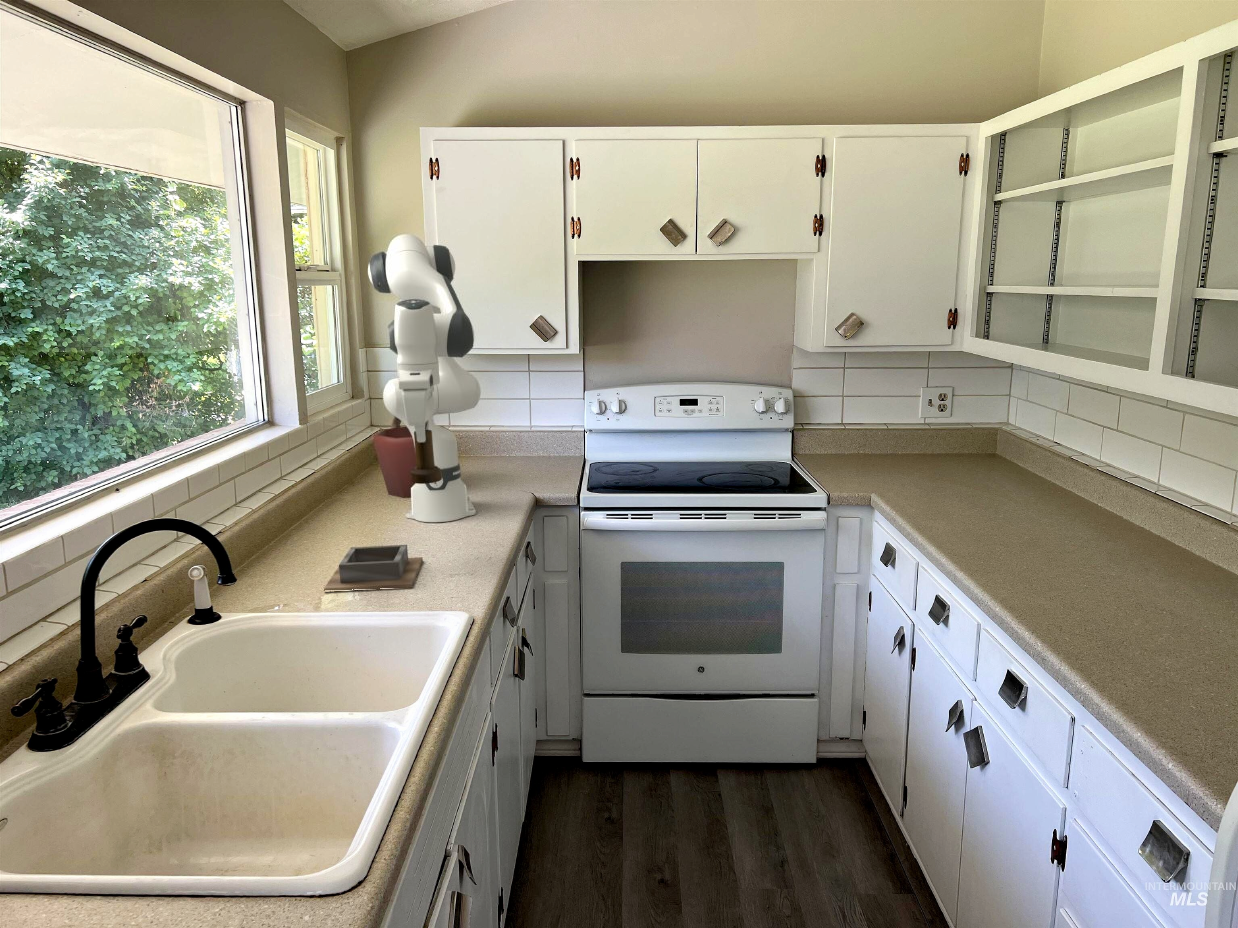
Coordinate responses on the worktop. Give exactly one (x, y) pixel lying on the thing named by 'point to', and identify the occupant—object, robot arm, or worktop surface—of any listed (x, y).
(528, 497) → the worktop surface
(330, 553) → the worktop surface
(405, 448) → the bucket
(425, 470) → the wooden pepper mill
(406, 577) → the holder board
